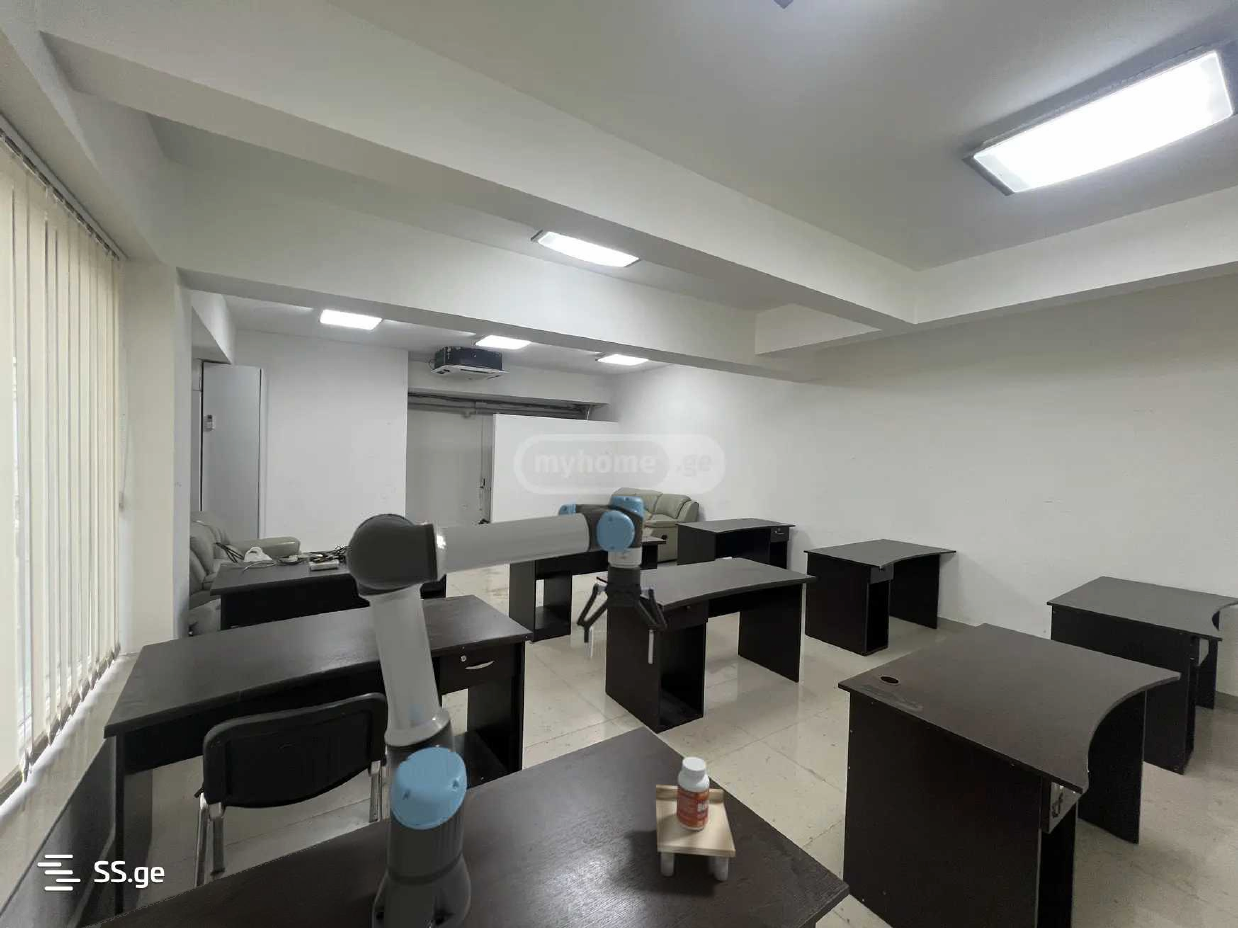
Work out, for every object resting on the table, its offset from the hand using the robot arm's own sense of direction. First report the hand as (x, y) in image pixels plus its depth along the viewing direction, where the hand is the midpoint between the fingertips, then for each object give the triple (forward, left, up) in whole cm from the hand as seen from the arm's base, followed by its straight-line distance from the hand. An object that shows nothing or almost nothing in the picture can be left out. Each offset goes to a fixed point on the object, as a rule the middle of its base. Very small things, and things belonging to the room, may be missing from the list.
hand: (620, 659), depth 110 cm
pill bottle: (+16, -13, -26) cm, 33 cm away
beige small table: (+16, -13, -32) cm, 38 cm away
